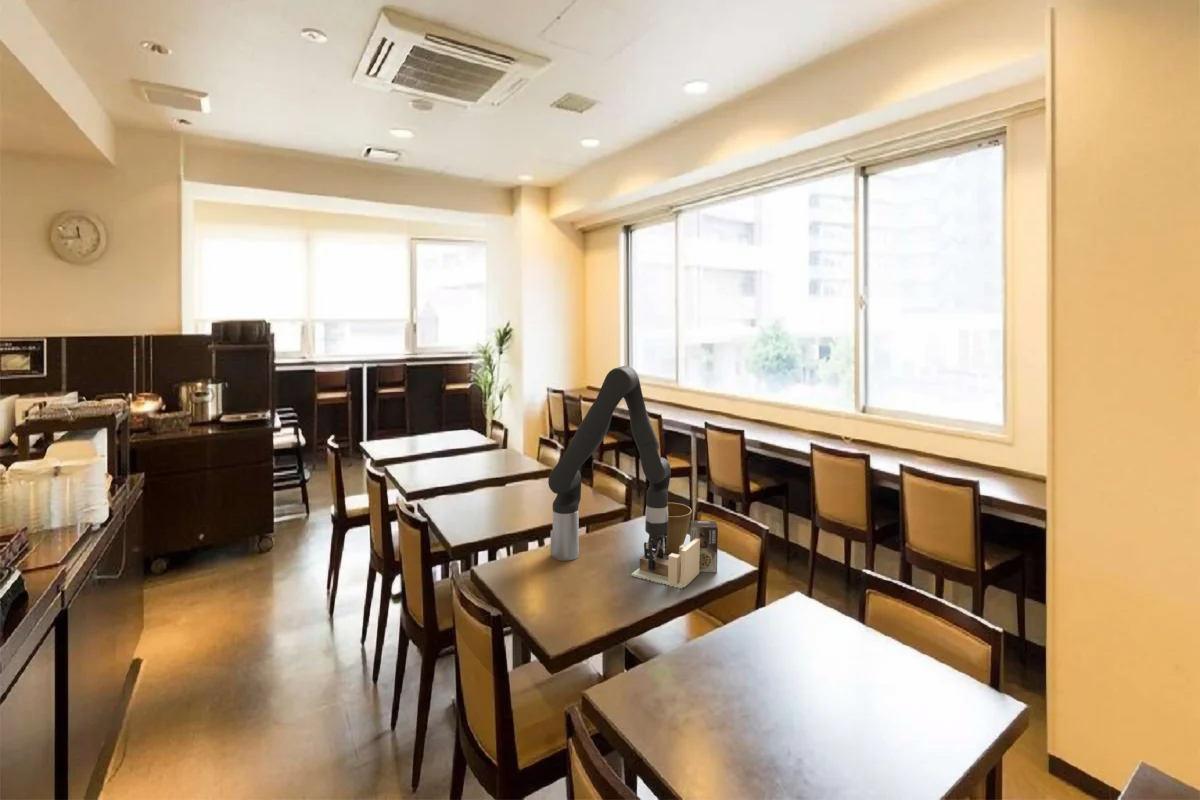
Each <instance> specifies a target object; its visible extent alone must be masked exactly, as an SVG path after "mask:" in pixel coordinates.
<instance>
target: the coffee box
mask: <svg viewBox="0 0 1200 800" xmlns="http://www.w3.org/2000/svg"><path fill="white" fill-rule="evenodd" d="M689 526H690V528H689V529H690V531H689V532H690V533H689V543H690V542H692V541H693V540H694V539H695V538H698V539H700V558H699V573H718V547H719V545H718V543H719V541H718V540H719V539H718V537H719V526H718V523H717V521H716V520H693V519H692V520H691V519H690V523H689Z"/></svg>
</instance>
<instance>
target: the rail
mask: <svg viewBox="0 0 1200 800" xmlns="http://www.w3.org/2000/svg"><path fill="white" fill-rule="evenodd" d="M639 568H640V570H642V571H646V572H650V573H654V574H658V575H662V576H666V577H668V559H665V558H664V559H662V558H658V557H657V556H656V557H655V570H654V571H652V570H649V569H648V559H645V555H643V556H641V557H640V558H639ZM680 573H681V562H680Z"/></svg>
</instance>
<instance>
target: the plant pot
mask: <svg viewBox="0 0 1200 800" xmlns="http://www.w3.org/2000/svg"><path fill="white" fill-rule="evenodd" d="M692 511H693V510H692V509H691V507H689V506H688V505H686V504H683V503H680V502H679V503H677V502H668V544H667V549H665V552H664V555H670V554H671V553H674V554H678V555H679V547H680V546H681V545H682V544H683V545H685V544H684V543H685V541H686V538H687V534H688V531H689V529H690V528H689V526H690V521H691V517H692Z"/></svg>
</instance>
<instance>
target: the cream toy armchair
mask: <svg viewBox="0 0 1200 800" xmlns="http://www.w3.org/2000/svg"><path fill="white" fill-rule="evenodd" d="M699 558H700V539H698V538H695V539H694V540H693V541H692V542H690V541H689V543H687V544H682V545H681V546H680V547H679V553H678V554H674V553H671V554H668V559H667V560H668V577H666V576H662V575H658V574H654V573H650V572H646V571H642V570H640V567H638V568H637V569H636V570H634V571H633V572H632V573H631V577H635V578H638V579H642V578H643V580H645V579H647V580H646V581H649V580H651V581H650V582H653V581H654V582H653V583H657V582H658V583H657V584H661V583H662V585H664V584H666V585H665V586H668V585H669V587H672V586H674V587H673V588H676V587H678V588H677V589H680V588H681V590H682V589H683V588H686V586H688V585H689V584H690V583H691V582H692V581H693V580H694V579H695V578H696V577H697V576H699V574H700V572H699ZM680 562H681V573H680Z"/></svg>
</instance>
